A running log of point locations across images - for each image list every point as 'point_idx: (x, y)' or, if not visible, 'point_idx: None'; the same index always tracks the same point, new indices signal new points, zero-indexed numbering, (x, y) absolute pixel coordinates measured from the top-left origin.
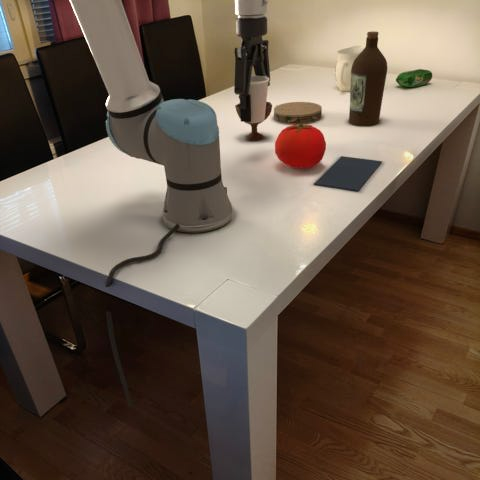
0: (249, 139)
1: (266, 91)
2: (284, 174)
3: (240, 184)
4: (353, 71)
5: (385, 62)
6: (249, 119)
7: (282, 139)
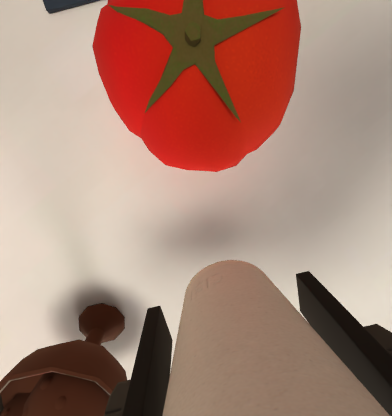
0: (123, 321)
1: (248, 386)
2: None
3: (369, 148)
4: None
5: None
6: (315, 280)
7: (287, 94)
